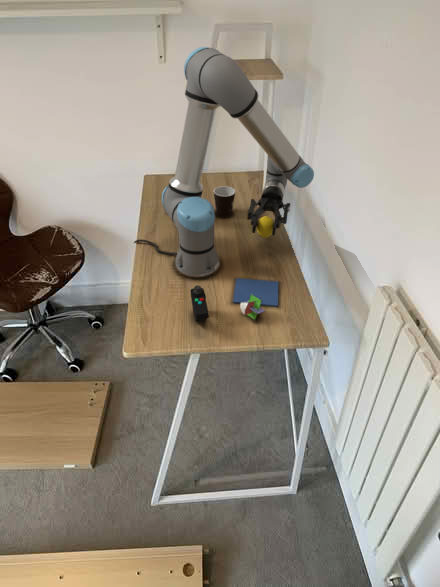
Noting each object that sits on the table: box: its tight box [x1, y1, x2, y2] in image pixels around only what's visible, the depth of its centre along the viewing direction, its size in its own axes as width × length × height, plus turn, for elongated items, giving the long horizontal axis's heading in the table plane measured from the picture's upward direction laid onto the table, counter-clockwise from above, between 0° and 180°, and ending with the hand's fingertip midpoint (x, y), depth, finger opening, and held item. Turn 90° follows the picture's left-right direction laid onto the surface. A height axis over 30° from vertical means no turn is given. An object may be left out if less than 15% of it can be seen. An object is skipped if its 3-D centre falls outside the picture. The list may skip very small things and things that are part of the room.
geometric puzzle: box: [239, 294, 266, 321], centre depth 130 cm, size 7×7×8 cm
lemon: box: [256, 215, 274, 239], centre depth 140 cm, size 6×6×8 cm
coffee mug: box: [213, 185, 236, 218], centre depth 176 cm, size 12×9×10 cm
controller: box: [190, 285, 210, 324], centre depth 127 cm, size 4×12×10 cm, turn 10°
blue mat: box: [232, 277, 279, 308], centre depth 140 cm, size 14×12×1 cm
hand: (263, 230), depth 135 cm, fingers closed on lemon, 5 cm apart
